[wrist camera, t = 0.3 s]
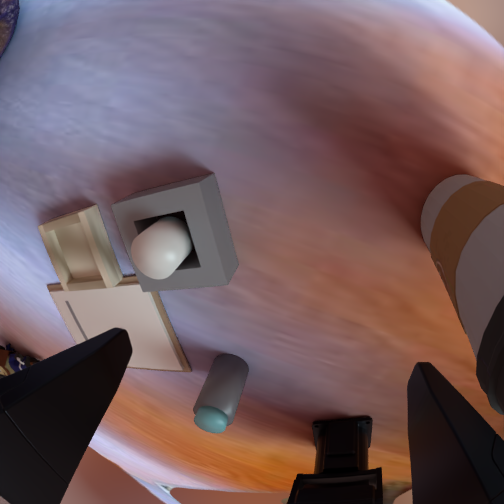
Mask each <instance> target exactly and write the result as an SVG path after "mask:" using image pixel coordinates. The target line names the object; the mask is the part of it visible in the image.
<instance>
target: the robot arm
mask: <svg viewBox="0 0 504 504" xmlns="http://www.w3.org/2000/svg"><path fill="white" fill-rule="evenodd" d="M132 352H133V349H132V345H131V341H130V338H129V335H128V332H127V330H125V329H122V328H118V327H115V328H112V329H110V330H108V331H106V332H104V333H101V334H99V335H97V336H95V337H93V338H90V339H88V340H86V341H84V342H82V343H80V344H77V345H75V346H73V347H71V348H69V349H66V350H64V351H62V352H60V353H58V354H55V355H53V356H51V357H49V358H47V359H44V360H42V361H40V362H38V363H35V364H33V365H31V367H30V366H29V367H26V368H24V369H22V370H20V371H17V372H15V373H13V374H10V375H8V376H5V377H2V378H0V504H60V503H61V500H62V498H63V496H64V494H65V492H66V490H67V488H68V485H69V483H70V481H71V479H72V477H73V475H74V473H75V471H76V469H77V467H78V465H79V463H80V460H81V459H82V457H83V455H84V453H85V451H86V449H87V447H88V445H89V443H90V441H91V439H92V437H93V435H94V433H95V431H96V429H97V427H98V426H99V424H100V422H101V420H102V418H103V416H104V414H105V412H106V410H107V409H108V407H109V405H110V403H111V401H112V399H113V397H114V395H115V394H116V392H117V389H118V387H119V385H120V382H121V380H122V378H123V375H124V373H125V370H126V368H127V366H128V363H129V361H130V358H131V356H132ZM407 398H408V439H409V450H410V461H411V475H412V495H413V504H504V441H503V439H502V438H501V437H500V436H499V435H498V434H496V432H495V431H494V430H493V428H492V427H491V426H490V425H489V424H488V423H487V422H486V421H485V420H484V419H483V417H482V416H481V415H480V414H479V413H478V412H477V411H476V410H475V409H474V408H473V407H472V406H471V405H470V403H469V402H468V401H467V400H466V399H465V398H464V397H463V396H462V395H461V394H460V393H459V392H458V391H457V390H456V389H455V388H454V387H453V386H452V385H451V384H450V382H449V381H448V380H447V379H446V378H445V377H444V376H443V375H442V374H441V373H440V372H439V371H438V370H437V369H436V368H435V367H434V366H433V365H432V364H431V363H429V362H418V363H416V365H415V366H414V369H413V371H412V374H411V376H410V379H409V381H408V385H407ZM312 429H313V434H314V440H315V446H316V460H315V469H314V474H303V473H302V474H297V477H296V480H294V483H293V486H292V490H291V493H290V496H289V499H288V502H287V504H383V490H382V467H379V468H376V469H370V470H368V448H369V447H370V443H371V433H372V418H370V417H366V418H356V419H344V420H330V421H315V422H313V424H312Z"/></svg>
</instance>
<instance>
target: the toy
mask: <svg viewBox="0 0 504 504" xmlns="http://www.w3.org/2000/svg"><path fill="white" fill-rule="evenodd" d="M13 350H14V349H13V348H10V344H8V345H7V346H6V349H5V348H4V347H3V346H1V345H0V378H2V377H5V376H8V375H10V374H13V373H15V372H17V371H20V370H22V369H24V368H26V367H29V366H30V367H31V365H33V364H35V363H38V362H40V361H39V360H37V359H34V358H31V357H28V356H25V357H23V356H22V355H20V354H19V353H18V352H17V353H16V352H12V351H13Z"/></svg>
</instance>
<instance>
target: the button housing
mask: <svg viewBox="0 0 504 504" xmlns="http://www.w3.org/2000/svg"><path fill="white" fill-rule="evenodd" d="M111 207H112V210H113V213H114V216H115V219H116V222H117V225H118V228H119V231H120V234H121V237H122V239H123V242H124V245H125V248H126V250H127V253H128V256H129V258H130V261H131V264H132V266H133V269H134V271H135V274H136V276H137V279H138V281H139V284H140V286H141V289H142V291H143V292H153V291H166V290H178V289H190V288H201V287H212V286H223V285H228V284H229V282H230V280H231V278H232V276H233V275H234V273H235V271H236V269H237V267H238V265H239V264H238V260H237V256H236V253H235V249H234V245H233V241H232V238H231V234H230V230H229V226H228V223H227V219H226V215H225V211H224V208H223V204H222V200H221V196H220V192H219V188H218V185H217V181H216V177H215V173H213V174H208V175H204V176H200V177H196V178H191V179H187V180H183V181H179V182H175V183H171V184H167V185H163V186H159V187H156V188H152V189H148V190H145V191H141V192H137V193H134V194H131V195H129V196H127V197H125V198H124V199H122V200H120V201H118V202H116V203H114V204H112V205H111ZM183 210H184V213H185V217H186V220H187V223H188V227H189V230H190V233H191V236H192V240H193V243H194V246H195V249H196V252H190V254H189V255H188V256H187V257H186V258H185V259H184V260H183V261H182V263H181V264H180V265H179V266H178V267H177V268H176V269H175V271H174V272H173V273H172V274H171V275H170V276H169V277H167V278H165V279H152V278H150V277H148V276H146V275H144V274H143V273H142V272H141V271H140V270H139V269H138V268H137V267H136V265H135V263H134V261H133V259H132V255H131V245H132V242H133V240H134V239H135V238H136V237H137V236H138V235H139V234H141V233H142V232H143V231H145V230H146V229H147V228H149V227H150V226H151V225H153V224H154V223H155V222H157V221H158V220H157V217H156V216H159V215H164V214H169V213H174V212H178V211H183Z"/></svg>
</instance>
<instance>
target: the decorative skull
mask: <svg viewBox="0 0 504 504" xmlns="http://www.w3.org/2000/svg"><path fill="white" fill-rule="evenodd" d="M19 9H20V8H19V1H18V0H0V57H1V55H2V54H3V52H4V50H5V48H6V47H7V45H8V43H9V42H10V40H11V37H12V35H13V32H14V30H15V26H16V22H17V18H18V14H19Z"/></svg>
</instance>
